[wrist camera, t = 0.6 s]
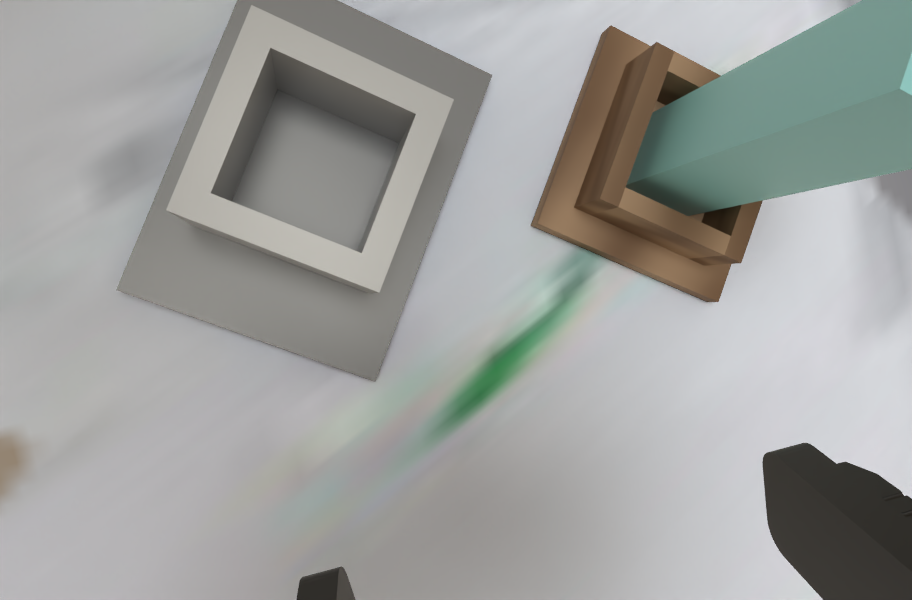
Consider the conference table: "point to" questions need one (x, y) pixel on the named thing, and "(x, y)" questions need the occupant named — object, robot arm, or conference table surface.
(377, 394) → the conference table surface
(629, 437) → the conference table surface
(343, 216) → the box
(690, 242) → the brown open square box
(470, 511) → the conference table surface
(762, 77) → the plug
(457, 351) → the conference table surface
